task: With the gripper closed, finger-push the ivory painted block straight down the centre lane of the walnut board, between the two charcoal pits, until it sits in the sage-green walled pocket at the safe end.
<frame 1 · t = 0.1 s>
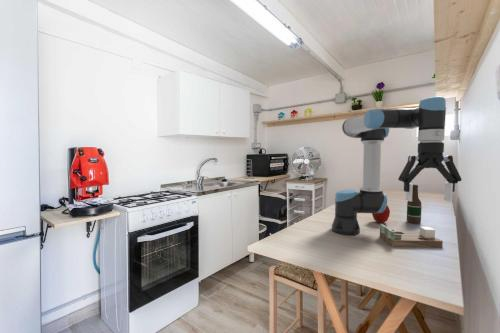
hand: (428, 200, 88), 28 cm above the table, fingers open, 13 cm apart
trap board: (409, 241, 122), on the table
ivory block: (427, 236, 121), point 3 cm above the table, touching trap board
apple: (380, 222, 154), on the table
beer bottle: (413, 222, 154), on the table
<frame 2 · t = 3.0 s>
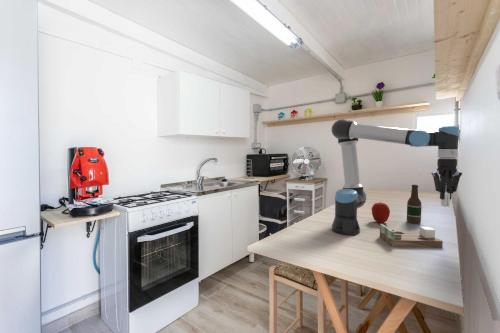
hand: (445, 205, 120), 18 cm above the table, fingers closed
nothing on the table moved.
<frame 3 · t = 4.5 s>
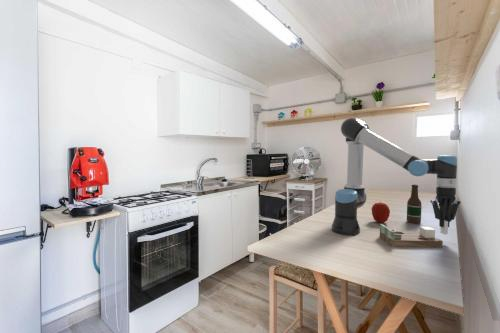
hand: (443, 233, 121), 4 cm above the table, fingers closed
nothing on the table moved.
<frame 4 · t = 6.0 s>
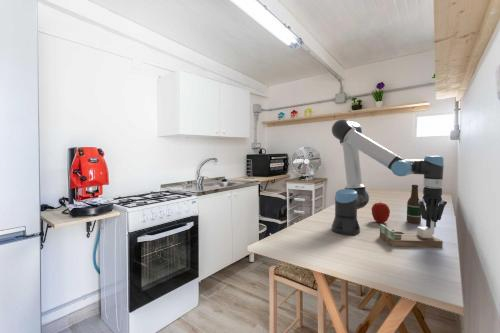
hand: (430, 233, 121), 4 cm above the table, fingers closed
ivory block: (424, 236, 121), point 3 cm above the table, touching gripper, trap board
everything else where it was.
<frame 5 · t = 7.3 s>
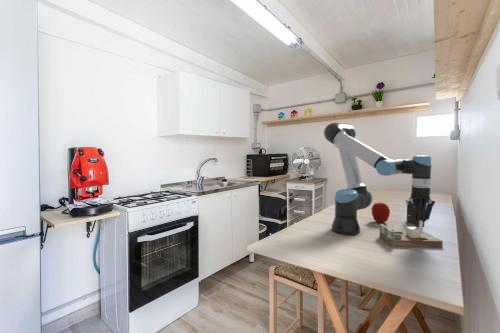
hand: (419, 233, 122), 4 cm above the table, fingers closed
ivory block: (413, 235, 122), point 3 cm above the table, touching gripper
everything else where it was.
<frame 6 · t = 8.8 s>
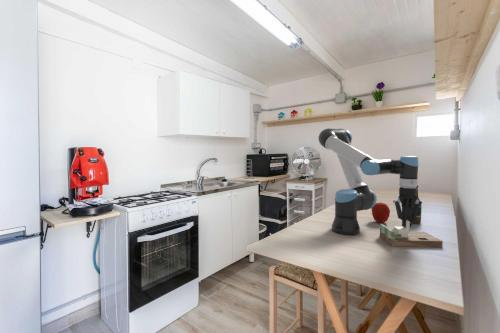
hand: (406, 233, 122), 4 cm above the table, fingers closed
ivory block: (400, 235, 122), point 3 cm above the table, touching gripper
everything else where it was.
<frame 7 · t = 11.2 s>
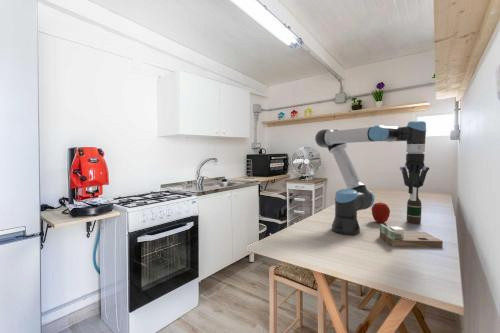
hand: (412, 200, 121), 21 cm above the table, fingers closed
ivory block: (396, 235, 122), point 3 cm above the table, touching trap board
everything else where it was.
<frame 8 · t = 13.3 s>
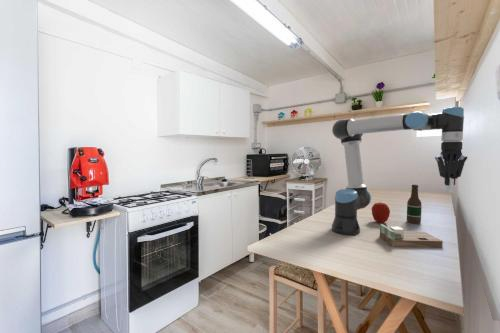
hand: (449, 192, 113), 26 cm above the table, fingers closed
nothing on the table moved.
at the end: ivory block 1.0 cm from the target spot on the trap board, point 3.0 cm above the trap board's base; ivory block tilted 0° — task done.
